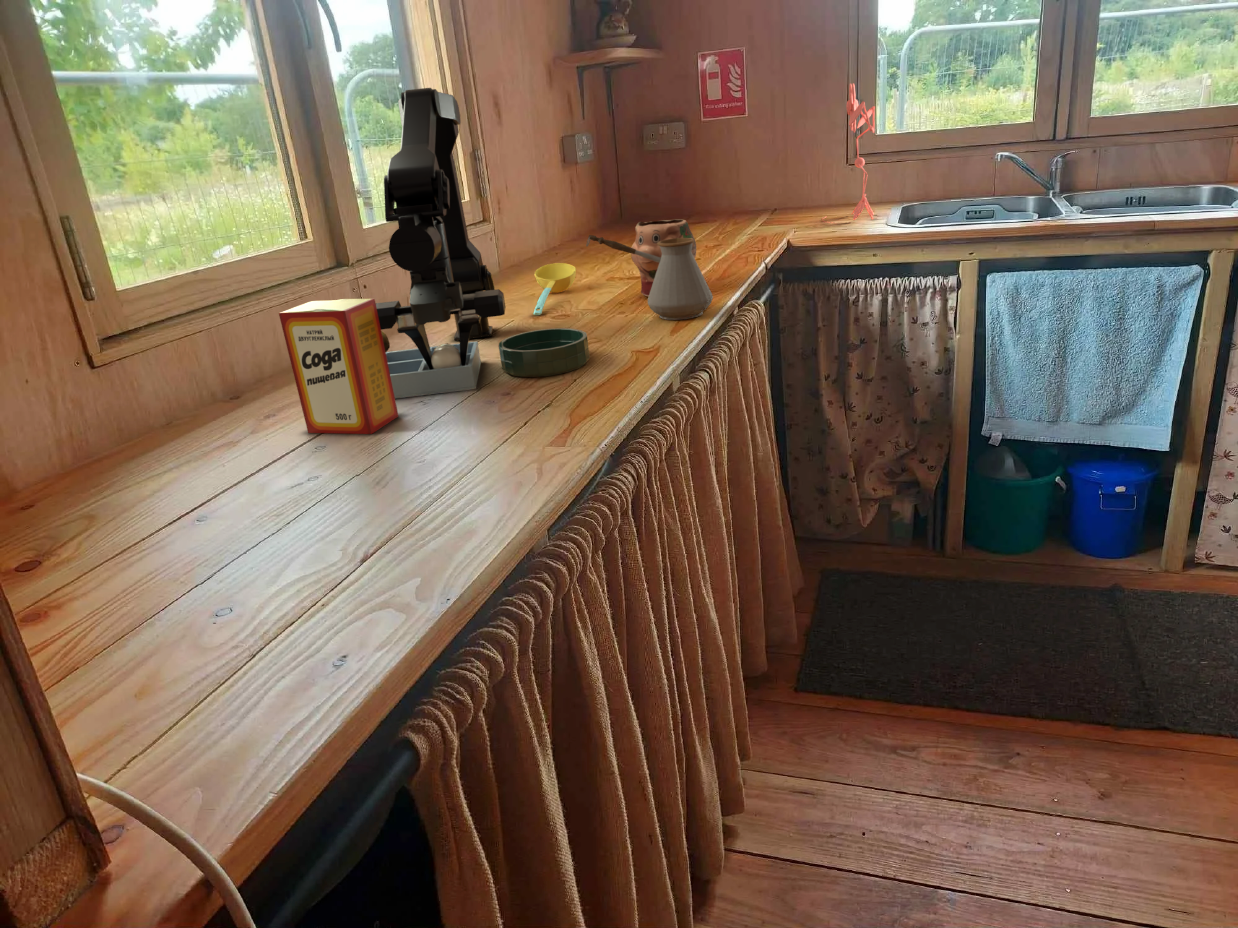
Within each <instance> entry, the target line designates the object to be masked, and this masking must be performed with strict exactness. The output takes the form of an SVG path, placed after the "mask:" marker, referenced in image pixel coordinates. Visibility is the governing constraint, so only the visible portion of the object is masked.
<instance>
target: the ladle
mask: <svg viewBox="0 0 1238 928" xmlns="http://www.w3.org/2000/svg"><path fill="white" fill-rule="evenodd" d="M576 274H577V267H575V266H574V265H572V264H569V263H565V262H554V263H548V264H545V265H542V266H540V267H538V268H537V269H536V270H535V271H534V277H535V281H536V282H537V284H538V285H539V286H540V287H541V289H543V291H542V292H541V294H540V296H539V298H538V300H537V302H536V305H535V307H534V310H533V313H532V314H533V316H541V315H542V313H543V310H544V306H545V304H546V301H547V299H548V296H549V294H550V293H553V294H559V293H562V292H564V291H566V290H568V289H569V288H570V287H572V285H573V284H574V282H575V279H576V277H577V275H576Z"/></svg>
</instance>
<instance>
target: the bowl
mask: <svg viewBox="0 0 1238 928" xmlns="http://www.w3.org/2000/svg"><path fill="white" fill-rule="evenodd" d="M498 352H499V358H500V366H501V369H502V370H503V371H504V372H505V373H507V374H508V375H510V376H514V377H520V378H542V377H552V376H557V375H562V374H565V373H569V372H572V371H576V370H578V369H580V368H582V367H584V365H586V363H587V362H588V361H589V360H590V348H589V338H588V333H587V332H586V331H584V330H581V329H578V328H577V329H576V328H568V327H567V328H566V327H556V328H555V327H554V328H543V329H535V330H530V331H525V332H521V333H517V334H513V335H511V336H509V337H506V338H503V339H502V340H501V341H500V342H498Z"/></svg>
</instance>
